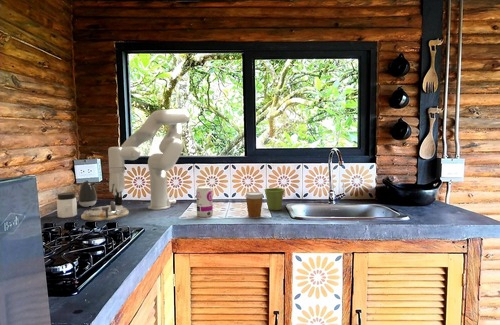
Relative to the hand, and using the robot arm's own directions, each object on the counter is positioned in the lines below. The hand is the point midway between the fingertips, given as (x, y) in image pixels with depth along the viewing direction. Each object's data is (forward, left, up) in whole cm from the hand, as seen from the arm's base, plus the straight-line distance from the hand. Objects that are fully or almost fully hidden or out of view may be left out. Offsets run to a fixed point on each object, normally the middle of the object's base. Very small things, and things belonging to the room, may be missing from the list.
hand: (118, 204), depth 170 cm
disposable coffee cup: (-62, +38, -6) cm, 73 cm away
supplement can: (-40, +24, -6) cm, 47 cm away
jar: (+24, -11, -6) cm, 28 cm away
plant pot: (-79, +29, -6) cm, 84 cm away
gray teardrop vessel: (+14, -33, -6) cm, 37 cm away
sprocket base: (+6, -3, -6) cm, 9 cm away
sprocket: (+6, -3, -4) cm, 8 cm away
